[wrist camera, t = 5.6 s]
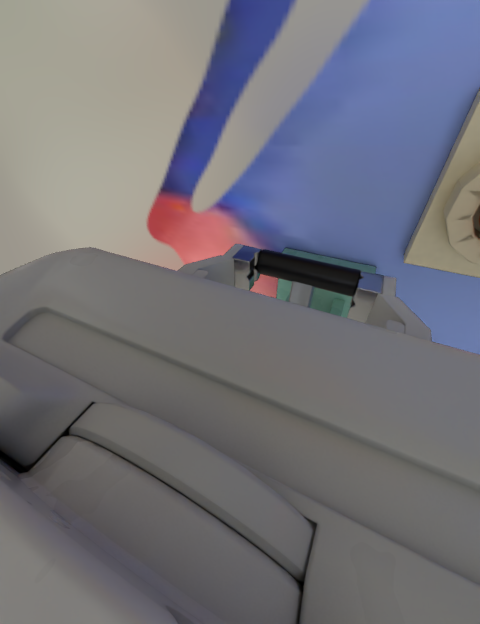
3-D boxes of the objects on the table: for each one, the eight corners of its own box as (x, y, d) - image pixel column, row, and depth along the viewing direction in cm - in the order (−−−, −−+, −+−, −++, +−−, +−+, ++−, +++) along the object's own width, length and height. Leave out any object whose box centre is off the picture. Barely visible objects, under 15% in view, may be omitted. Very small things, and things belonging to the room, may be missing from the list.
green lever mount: (285, 247, 25) (219, 339, 16) (376, 266, 22) (356, 388, 13) (275, 329, 32) (226, 423, 23) (343, 351, 29) (316, 465, 21)
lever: (269, 241, 15) (252, 259, 13) (363, 261, 13) (358, 283, 11) (256, 377, 22) (244, 400, 20) (315, 401, 21) (308, 427, 19)
